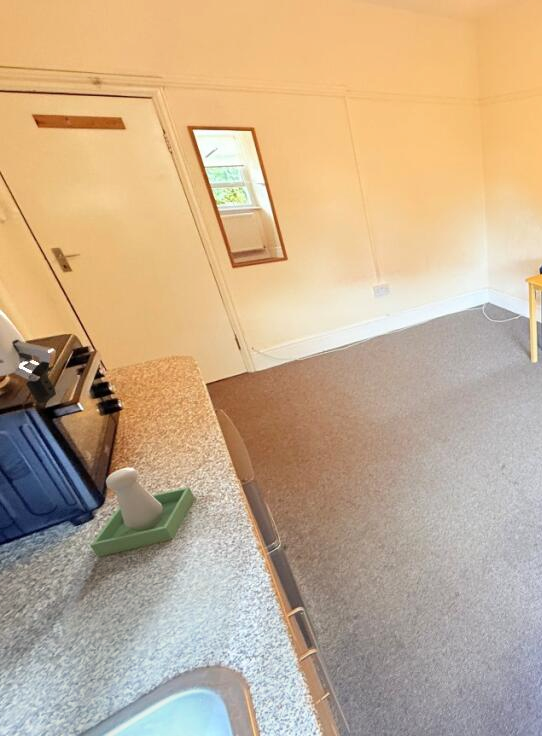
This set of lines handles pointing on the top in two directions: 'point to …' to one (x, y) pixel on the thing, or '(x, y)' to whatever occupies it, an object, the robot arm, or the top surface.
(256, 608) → the top surface
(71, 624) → the top surface
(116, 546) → the tray
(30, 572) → the top surface
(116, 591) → the top surface
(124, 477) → the salt shaker
